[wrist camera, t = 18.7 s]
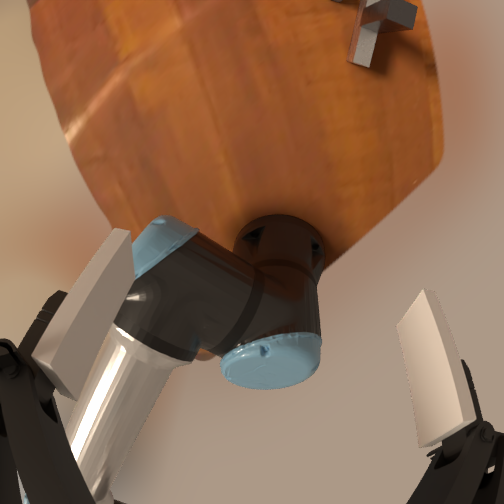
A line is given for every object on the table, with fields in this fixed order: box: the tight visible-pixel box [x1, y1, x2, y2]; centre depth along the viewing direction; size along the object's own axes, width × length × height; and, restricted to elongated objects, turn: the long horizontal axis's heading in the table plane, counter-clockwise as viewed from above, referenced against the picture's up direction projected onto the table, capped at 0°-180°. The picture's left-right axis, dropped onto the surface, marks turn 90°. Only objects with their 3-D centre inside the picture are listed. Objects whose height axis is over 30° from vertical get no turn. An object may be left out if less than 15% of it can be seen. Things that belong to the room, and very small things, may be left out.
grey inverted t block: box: [346, 0, 418, 67], centre depth 22 cm, size 12×2×14 cm, turn 170°
